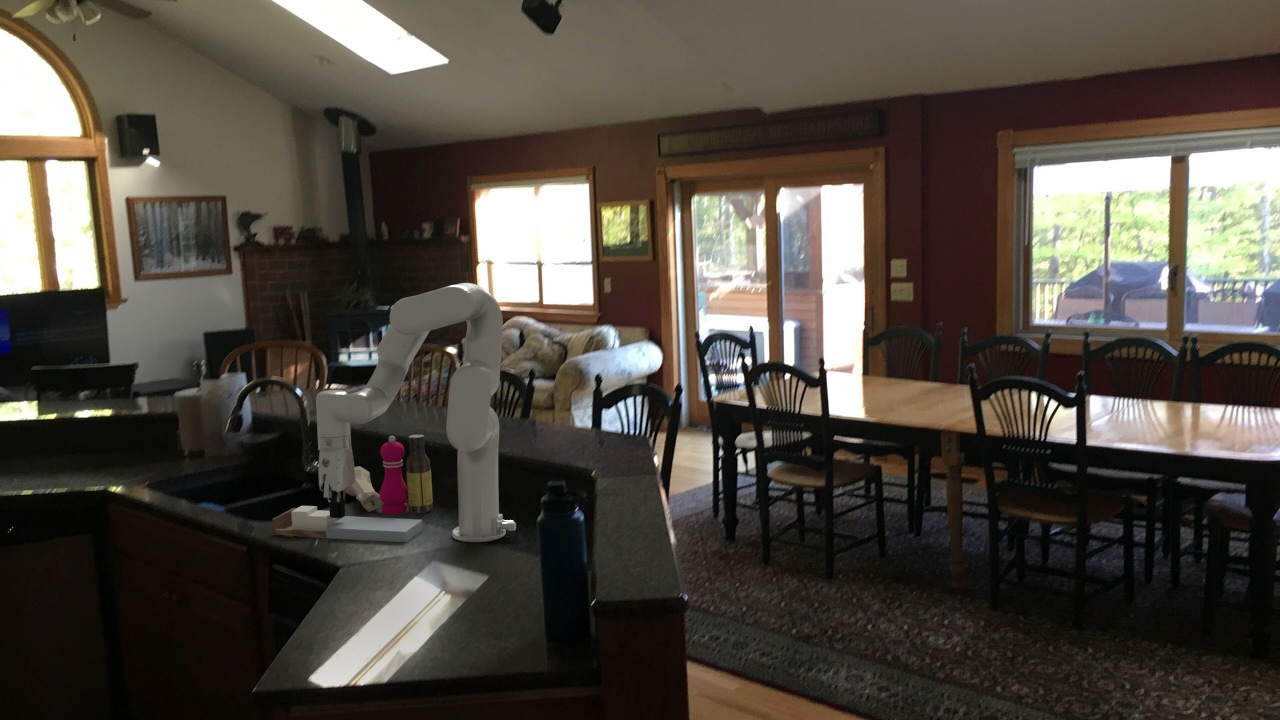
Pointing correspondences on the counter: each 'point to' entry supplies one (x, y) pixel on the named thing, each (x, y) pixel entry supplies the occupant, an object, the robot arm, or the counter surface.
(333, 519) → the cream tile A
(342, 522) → the slate bench
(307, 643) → the counter surface
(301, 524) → the cream square block
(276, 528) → the walnut box
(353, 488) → the cream faceted tapered piece
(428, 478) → the sauce bottle
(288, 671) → the counter surface
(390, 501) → the pepper mill
